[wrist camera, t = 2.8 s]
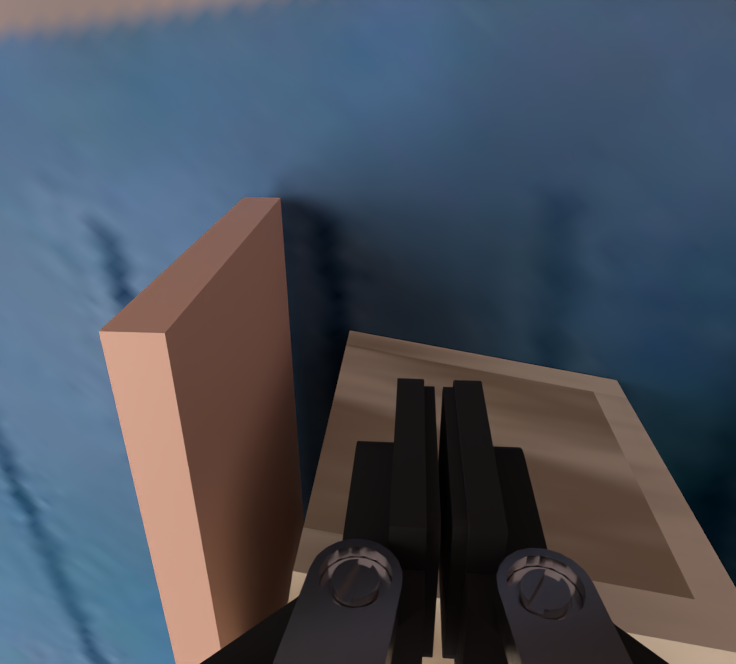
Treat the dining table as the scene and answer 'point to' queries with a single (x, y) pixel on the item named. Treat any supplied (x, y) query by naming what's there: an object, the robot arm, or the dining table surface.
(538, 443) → the wooden cabinet
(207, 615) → the door
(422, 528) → the robot arm
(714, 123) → the dining table surface
